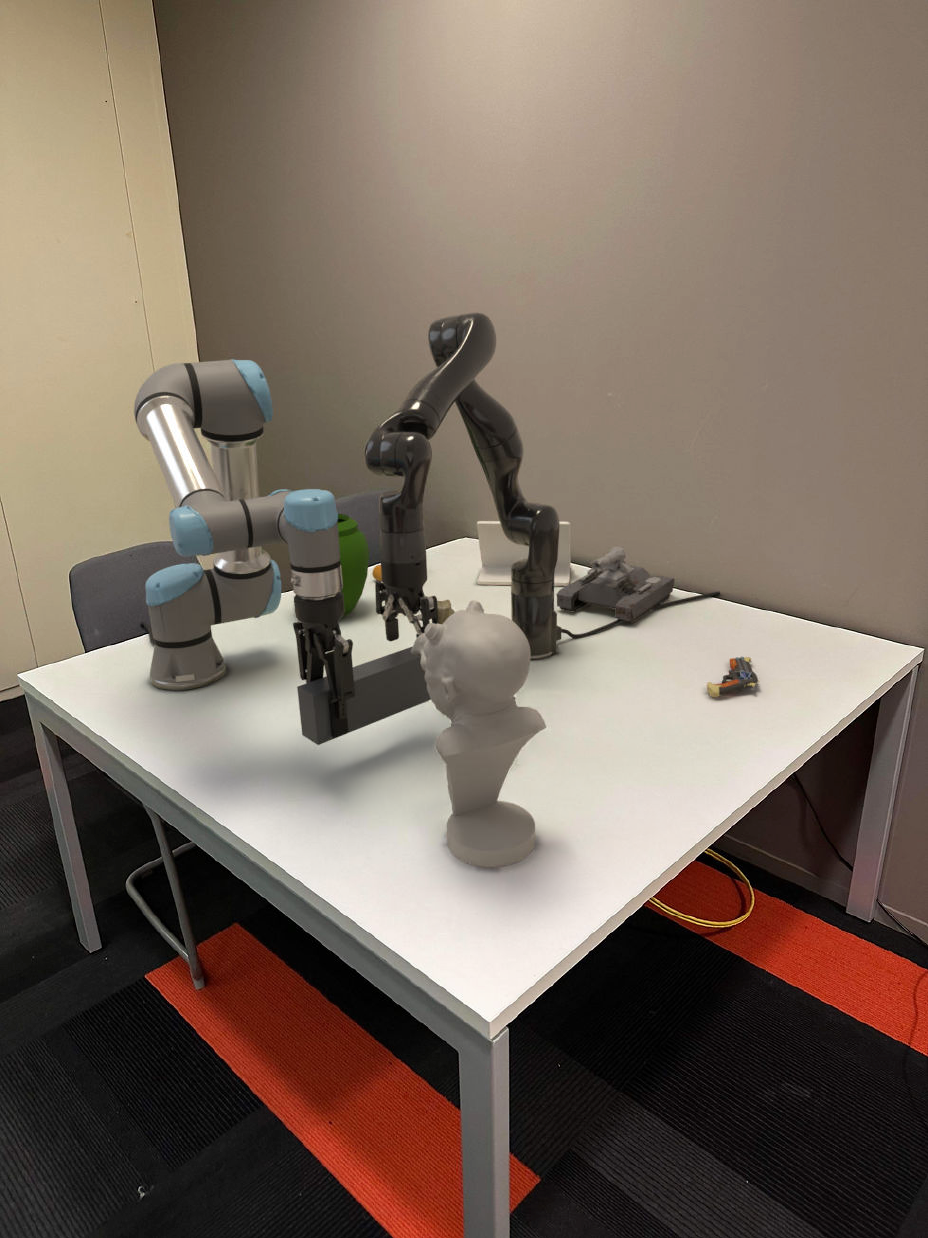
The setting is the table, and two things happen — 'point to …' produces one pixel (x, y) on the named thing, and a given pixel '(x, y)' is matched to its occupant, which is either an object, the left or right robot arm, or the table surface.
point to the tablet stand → (515, 554)
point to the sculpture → (444, 610)
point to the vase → (352, 561)
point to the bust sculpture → (481, 729)
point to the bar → (365, 694)
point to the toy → (616, 588)
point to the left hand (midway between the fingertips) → (330, 728)
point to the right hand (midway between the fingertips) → (408, 646)
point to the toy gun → (735, 678)
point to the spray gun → (377, 573)
